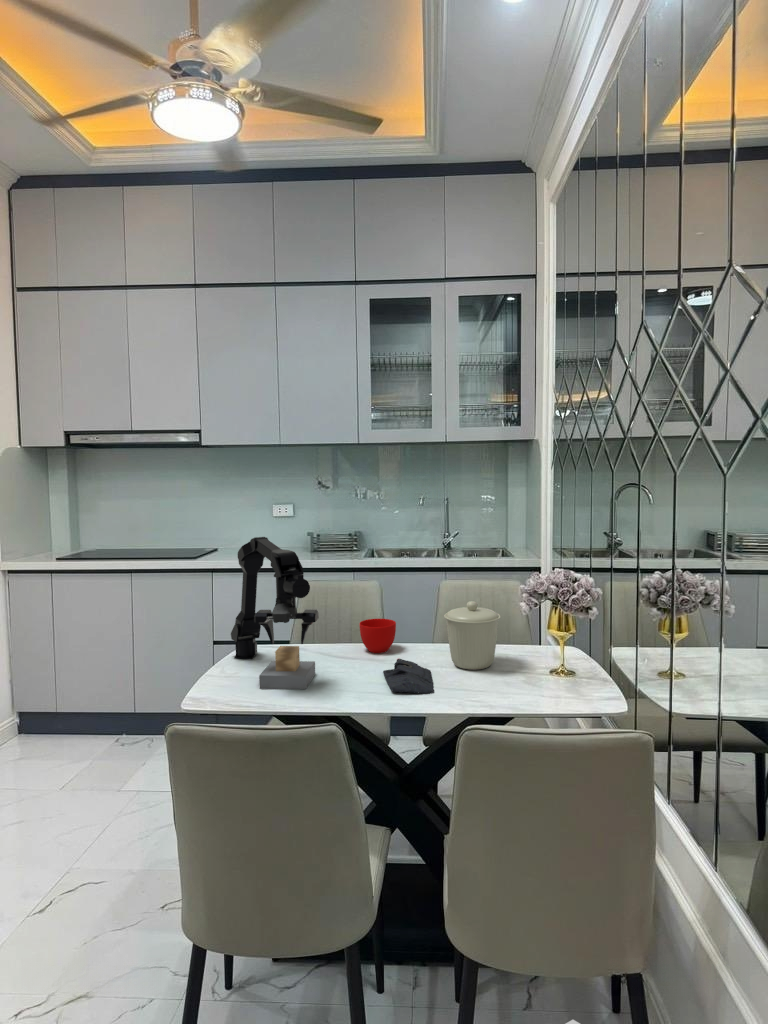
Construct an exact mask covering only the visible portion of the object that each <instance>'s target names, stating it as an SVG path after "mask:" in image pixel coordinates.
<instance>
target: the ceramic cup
mask: <svg viewBox="0 0 768 1024" xmlns="http://www.w3.org/2000/svg"><path fill="white" fill-rule="evenodd" d="M396 631H397V622H396V621H395V620H393V619H390V618H389V619H388V618H371V619H370V618H369V619H364V620H362V621H360V622H359V633H360V640H361V641H362V644H363V646H364V647H365V648H366V649H367V650H368V651H369V652H370V653H372V654H373V653H374V654H382V653H386V652H388V650H389V649H390V648H391V647H392V646H393V643H394V641H395V638H396Z"/></svg>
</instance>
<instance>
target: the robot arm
mask: <svg viewBox="0 0 768 1024" xmlns="http://www.w3.org/2000/svg"><path fill="white" fill-rule="evenodd" d="M237 551H238V552H237V560H238V565H239V567H240V568H241V569H242V583H241V585H242V586H241V606H240V608H241V609H240V611H239V612H238V614H237V616H236V617H235V621H234V626H233V628H232V630H231V631H230V639H231V640H232V641H233V642H235V644H234V645H235V656H234V657H233V658H234V659H241V660H242V659H247V660H248V659H249V660H250V659H251V660H252V659H253V658H255V656H257V655H258V642H257V641H256V639H259V638H260V635H261V627H263V628H264V630H265V631H266V634H267V636H268V639H269V640H270V643H271V645H274V643H275V636H274V635H275V633H274V624H278V623H283V624H287V623H289V622H290V620H302V622H301V632H300V633H301V635H300V643H301V645H304V643H305V639H306V635H307V632H308V629H309V628H310V626H312V625H313V623H316V622H317V621H318V619H319V611H318V610H317V609H304V611H302V612H298V610H297V604H296V603H297V602H296V601H297V600H296V599H304V598H306V597H308V595H309V593H310V590H311V585H310V583H309V581H308V580H307V579H305V577H304V567H303V565H302V563H301V561H300V559H299V556H298V555H297V553H296V552H295V551H293V550H290V549H282V548H280V547H279V546H277V545H276V544H274V543H273V542H271V541H270V540H269V538H268V537H266V536H259V537H258V536H255V537H253V538H251V539H250V541H248V542H247V543H245V544H243V545H242V546H241V547H240V548H239V549H238V550H237ZM264 559H267V560H268V561H270V567H271V568H272V569H273V571H274V574H273V577H274V578H275V586H276V587H275V590H276V591H275V592H276V594H275V595H276V598H275V604H274V607H273V609H272V610H271V609H259V610H258V611H256V605H257V589H258V573H259V572H260V570H261V568H262V567H263V565H264Z"/></svg>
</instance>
